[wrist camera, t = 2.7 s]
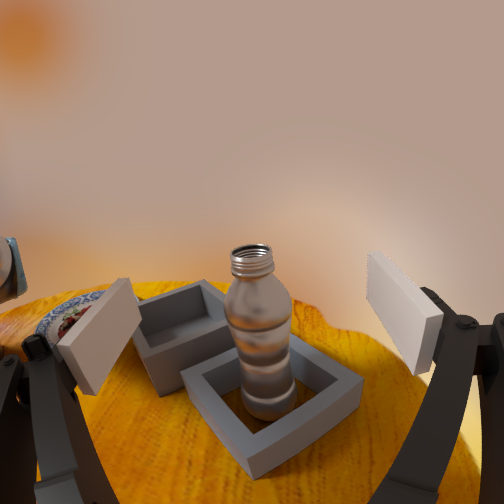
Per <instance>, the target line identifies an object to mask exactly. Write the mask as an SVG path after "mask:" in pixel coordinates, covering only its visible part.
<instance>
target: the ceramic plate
mask: <svg viewBox="0 0 504 504" xmlns="http://www.w3.org/2000/svg"><path fill="white" fill-rule="evenodd" d="M105 291H106V290H101V291H95V292H91V293H87V294H83V295H81V296H78V297H75V298H73V299H70V300H68V301H66V302H64V303H63V304H61V305H59V306H57V307H56V308H54V309H53V310H52V311H50V312H49V313H48V314H47V315H46V316H45V317H44V318H43V319H42V320H41V321H40V323H39V324H38V325H37V327H36V329H35V333H34V334H36V333H43V334H44V335H45V337H46V339H47V341H48V343H49V345H50V347H51V349H52V348H53V346H54V345H55V344H56V343H57V342H58V341H59V340H60V338H61V337H63V335H64V334H65V333H66V332H67V331H68V329H69V328H70V327H71V326H72V325H73V324H75V323H76V322H77V321H78V320H79V319H80V318H81V317H82V316H83V315H84V314H85V312H86V311H87V310H88V309H89V308H90V307H91V306H92V305H93V304H94V303H95V302H96V301H97V300H98V299H99V298H100V297H101V296H102V294H103V293H104V292H105ZM134 296H135V299H136V302H140V301H139V299H138V297H137V296H136V295H135V294H134Z"/></svg>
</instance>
